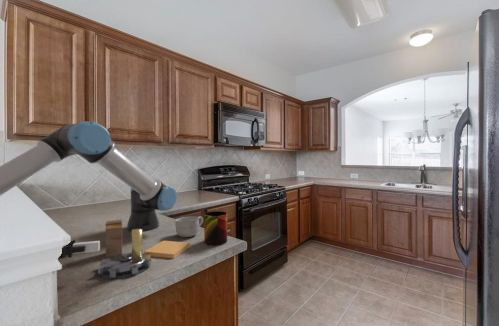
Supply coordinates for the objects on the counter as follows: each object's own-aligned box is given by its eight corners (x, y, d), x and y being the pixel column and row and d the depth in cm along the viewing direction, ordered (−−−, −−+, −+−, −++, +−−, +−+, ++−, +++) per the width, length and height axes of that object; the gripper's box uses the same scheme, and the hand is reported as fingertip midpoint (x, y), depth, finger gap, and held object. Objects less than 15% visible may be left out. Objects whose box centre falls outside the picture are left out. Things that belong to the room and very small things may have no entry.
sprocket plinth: (124, 257, 84) (124, 256, 84) (159, 260, 81) (159, 259, 81) (87, 276, 70) (87, 275, 70) (128, 281, 67) (128, 280, 67)
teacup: (180, 241, 101) (179, 222, 101) (172, 234, 110) (171, 217, 110) (209, 235, 109) (209, 217, 109) (199, 229, 118) (199, 213, 118)
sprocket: (92, 266, 75) (92, 229, 75) (141, 253, 86) (140, 220, 86) (106, 283, 65) (105, 240, 65) (159, 265, 76) (159, 228, 76)
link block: (107, 252, 88) (106, 220, 88) (122, 250, 91) (122, 219, 91) (105, 257, 84) (105, 224, 84) (121, 254, 86) (121, 222, 86)
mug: (223, 234, 110) (223, 208, 110) (229, 244, 97) (229, 215, 97) (202, 236, 107) (202, 210, 107) (205, 246, 94) (205, 217, 94)
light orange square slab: (163, 244, 97) (163, 240, 97) (190, 246, 94) (190, 242, 94) (144, 255, 85) (144, 251, 85) (173, 258, 83) (173, 254, 83)
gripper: (14, 260, 70) (105, 250, 77) (-20, 281, 57) (92, 267, 64) (14, 234, 70) (105, 227, 77) (-21, 250, 57) (91, 240, 64)
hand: (99, 245), depth 70 cm, fingers closed
